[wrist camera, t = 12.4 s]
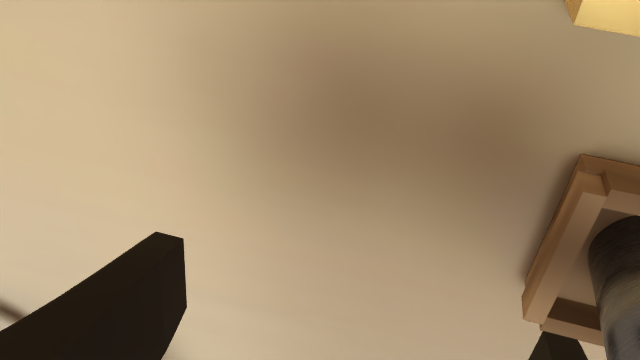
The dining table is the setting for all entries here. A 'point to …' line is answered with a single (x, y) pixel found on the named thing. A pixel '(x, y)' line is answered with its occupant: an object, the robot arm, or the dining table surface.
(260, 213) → the dining table surface
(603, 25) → the bar
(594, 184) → the brown square tray
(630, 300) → the grey knob
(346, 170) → the dining table surface
